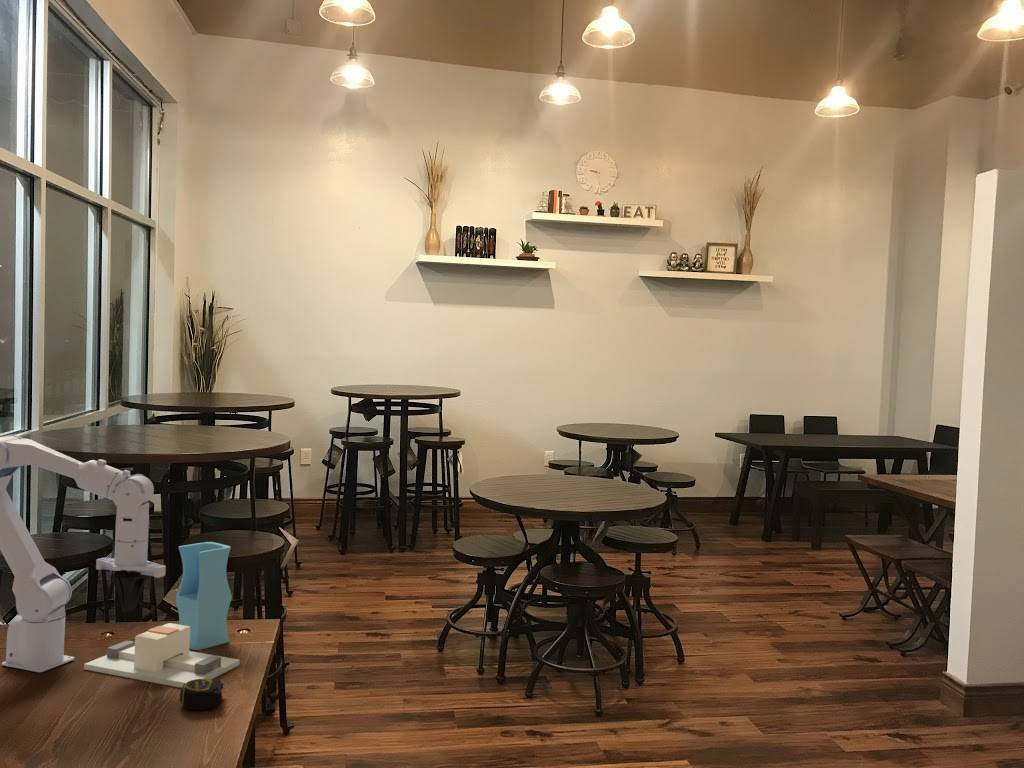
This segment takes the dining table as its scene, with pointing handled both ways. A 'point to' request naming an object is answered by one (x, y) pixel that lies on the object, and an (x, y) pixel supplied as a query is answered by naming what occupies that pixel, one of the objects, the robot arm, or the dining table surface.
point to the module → (160, 646)
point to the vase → (204, 593)
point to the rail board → (173, 670)
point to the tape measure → (201, 694)
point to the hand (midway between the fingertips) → (128, 610)
